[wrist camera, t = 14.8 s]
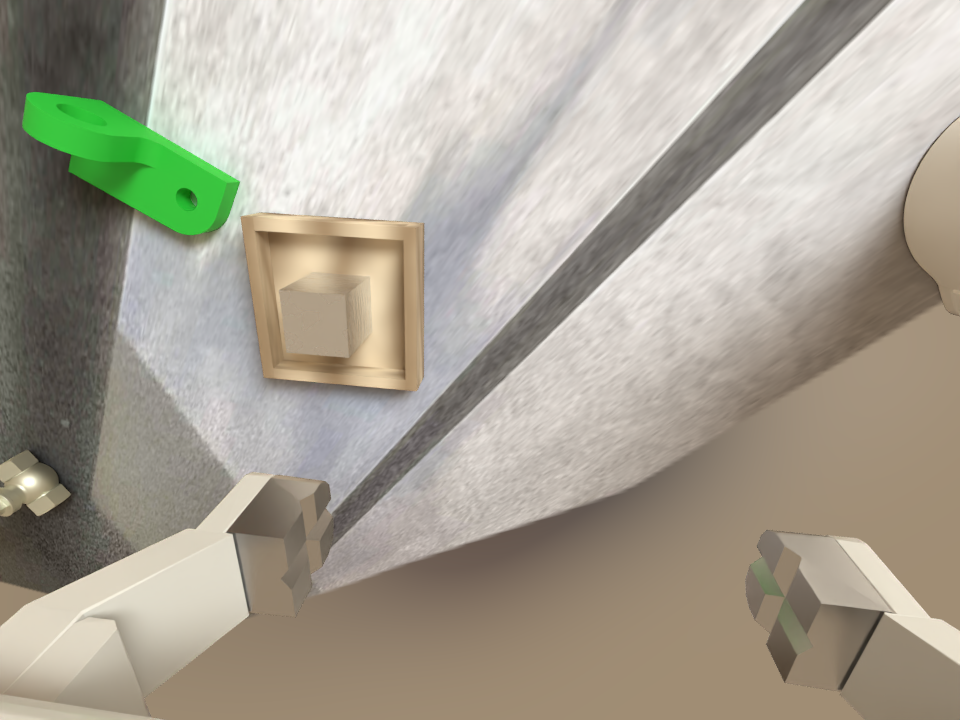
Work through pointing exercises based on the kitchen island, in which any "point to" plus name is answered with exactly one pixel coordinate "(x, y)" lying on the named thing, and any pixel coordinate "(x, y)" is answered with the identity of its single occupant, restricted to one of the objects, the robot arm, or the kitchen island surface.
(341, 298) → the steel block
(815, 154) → the kitchen island surface
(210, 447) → the kitchen island surface
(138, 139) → the mechanical part
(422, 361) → the tray
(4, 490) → the valve
